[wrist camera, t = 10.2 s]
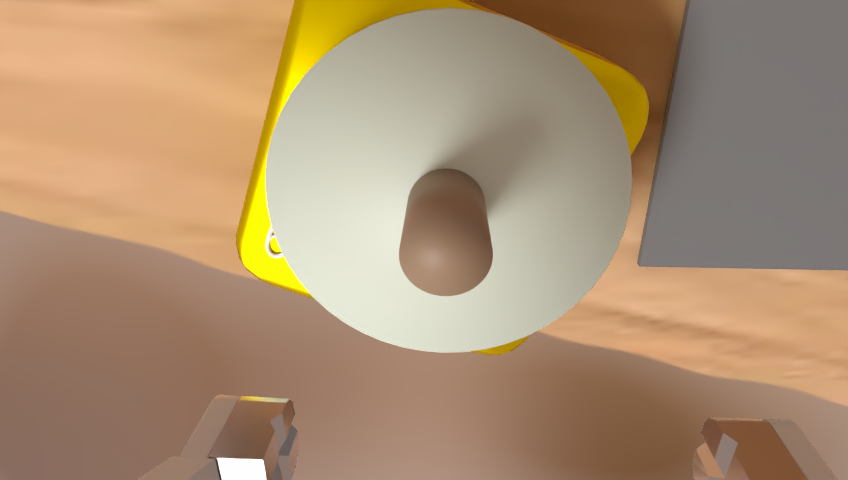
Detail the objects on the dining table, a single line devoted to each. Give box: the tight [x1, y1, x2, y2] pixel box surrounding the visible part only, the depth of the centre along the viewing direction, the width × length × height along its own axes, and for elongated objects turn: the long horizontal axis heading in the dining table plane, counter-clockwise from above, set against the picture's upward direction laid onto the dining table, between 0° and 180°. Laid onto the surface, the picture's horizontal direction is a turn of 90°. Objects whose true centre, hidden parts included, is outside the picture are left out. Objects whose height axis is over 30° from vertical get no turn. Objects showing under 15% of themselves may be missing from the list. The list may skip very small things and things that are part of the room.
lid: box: [265, 7, 632, 353], centre depth 21 cm, size 15×15×6 cm
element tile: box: [236, 0, 649, 355], centre depth 26 cm, size 15×15×5 cm
